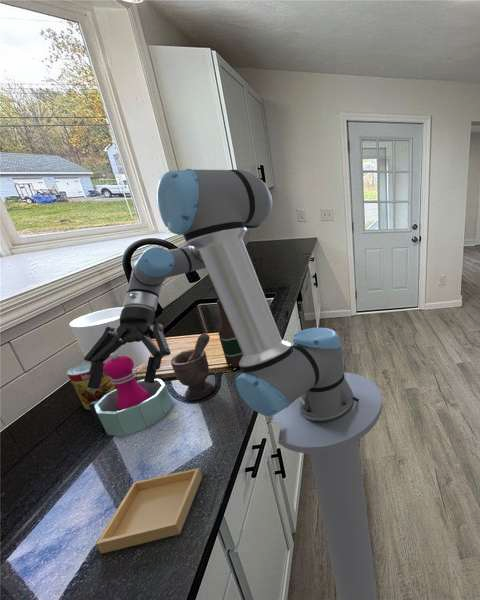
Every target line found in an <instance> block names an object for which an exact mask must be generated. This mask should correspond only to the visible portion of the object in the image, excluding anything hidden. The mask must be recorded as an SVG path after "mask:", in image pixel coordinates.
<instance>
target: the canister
mask: <svg viewBox="0 0 480 600" xmlns="http://www.w3.org/2000/svg"><path fill="white" fill-rule="evenodd" d="M122 309H123V306H122V307H120V306H119V307H112V308H105V309H101V310H97V311H93V312H90V313H88V314H83V315H81V316H79V317H77V318H75V319H73V320H72V321H70V322H69V327H70V330H71V331H72V333H73V337H75V339H76V342H77V344H78V347H79V348H80V351H81V353H82V355H83V357H84V358H85V356H86V355H87V354H88V353H89V351H90V350H91V349H92V348H93V346H94V345H95V344H96V343H97V341H98V340H99V339H100V338H101V337H102V335H103V334H104V331H105V329H106V327H111V328H118V327H119V326H120V320H119V319H120V315H121V311H122ZM117 334H118V333H117ZM120 340H122V339H121V338H120ZM114 353H118V354H119V356H127V357H129V358H131V359H132V360H133V362H134V368H136V367H138V366H139V365H141V364H143V363H144V362H146V361H147V360H148V359H149V357H150V355H151V352H150V351H149V350H148V349H147V347H146V346H145V345H144V343H143V342H142V341H140V342H131V343H128V342H127V343H126V344H124V345H122V346H120V347H119V348H118V349H117V350H116V351H115V352H114ZM110 359H111V358H110V356H109V357H108V358H107V359H106V360H105V361H104V362H105V363H106V362H107V361H108V360H110ZM147 364H148V362H147V363H146V364H145V365H144V366H142V367H143V368H142V369H141V370H143V369H145V368H147ZM134 368H133V369H134ZM138 369H139V368H138ZM141 370H140V371H141ZM134 371H135V373H136V374H137V373H138V372H139V371H137V369H136V370H134Z"/></svg>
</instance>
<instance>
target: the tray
mask: <svg viewBox="0 0 480 600" xmlns="http://www.w3.org/2000/svg"><path fill="white" fill-rule="evenodd" d="M202 479H203V474H202V472H201V469H200V467H197V468H192V469H188V470H182V471H178V472H174V473H173V472H172V473H169V474H165V475H160V476H154V477H150V478H146V479H141V480H138V481H137V480H136V481H133V482H132V484H131V486H130V488H128V491H127V492H126V494H125V496H124V497H123V499H122V501H121V502H120V504H119V505H118V507H117V508H116V510H115V511H114V514H113V515H112V517H111V518H110V519H109V522H108V523H107V524H106V526H105V528H104V530H103V531H102V532H101V534H100V536H99V538H98V540H97V542H96V543H95V546H96V547H97V549H98V551H99V552H100V554H102V555H103V554H106V553H111V552H115V551H118V550H123V549H126V548H130V547H133V546H134V547H135V546H138V545H142V544H146V543H150V542H155V541H158V540H162V539H166V538H169V537H173V536H178V535H180V534H181V532H182V531H183V527H184V525H185V522H186V519H187V517H188V514H189V512H190V510H191V506H192V504H193V502H194V499H195V496H196V494H197V491H198V489H199V488H200V484H201V482H202Z"/></svg>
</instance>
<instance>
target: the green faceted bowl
mask: <svg viewBox="0 0 480 600" xmlns="http://www.w3.org/2000/svg"><path fill="white" fill-rule="evenodd" d="M144 379H145V378H143V379H140V380H136V381H137V383H138V384H139V385H140V386H141V387H142V388H144V389H145V390H146V391H147V392H148V393H149V394H150V396H151V398H149V399H147V400H145V401H144V402H142V403H140V404H138V405H136V406H133V407H130V408H126V409H123V410H120V411H118V409H117V397H118V391H117V388H116V389H115V390H113V391H111V392H109V393H107V394H106V395H104V396H103V397H102V398H101V399H100V400H99V401H92V402H91V403H90V404H89V407H90V409H91V410H90V412H91V413H92V415H93V417H94V419H95V420H97V421H98V420H99V421H100V422H101V424H102V427H103V428H104V431H105V433H106V435H107V436H127V435H130V434H133V433H136V432H138V431H139V432H140V431H141V430H142V431H143V430H145V429H147V428H149V427H151V426H152V425H153V424H155V423H157V422H159V421H160V420H161V419H163V418H165V417H166V416H167V414H168V413H169V411H170V410H171V408H172V407H173V405H174V404H173V402H172V399H171V395H170V393H169V391H168V388H167V386H166V383H165V382H164V381H163V380H162V378H155V380H154V383H148V382H144Z"/></svg>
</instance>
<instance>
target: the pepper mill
mask: <svg viewBox="0 0 480 600" xmlns="http://www.w3.org/2000/svg"><path fill="white" fill-rule="evenodd" d="M110 358H111V359H110V360H108V361H107V362H106V363H105V364H104V367H103V371H104V373H105V374H106V375H107V376H109V377H111V378H110V380H111V382H112V383H113V384H115V387H116V389H117V391H118V397H117V409H118V411H120V410H123V409H126V408H130V407H133V406H136V405H138V404H140V403H142V402H144V401H145V400H147V399H149V398H151V396H150V394H149V393H148V392H147V391H146V390H145V389H144V388H142V387H141V386H140V385H139V384H138V383H137V381H138V380H137V379H136V376H137V372H136V373H135V371H134V370H132V369H133V368H134V362H133V360H132V359H131V358H129V357H127V356H119V354H118V353H111V354H110Z"/></svg>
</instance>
